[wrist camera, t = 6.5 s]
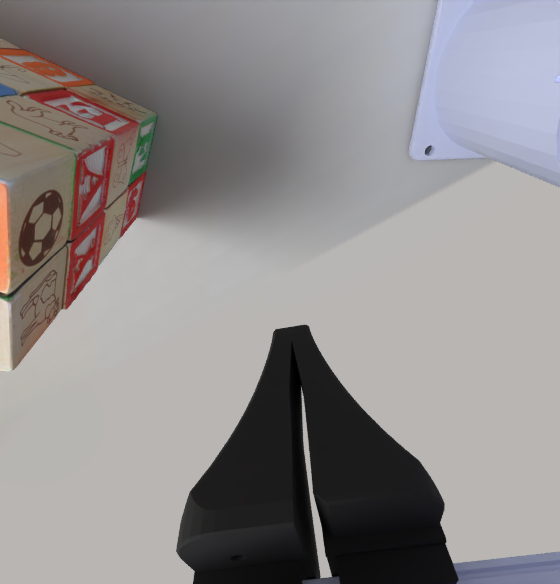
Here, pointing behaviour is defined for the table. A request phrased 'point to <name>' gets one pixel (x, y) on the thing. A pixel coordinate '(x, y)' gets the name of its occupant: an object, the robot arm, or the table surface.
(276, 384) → the robot arm
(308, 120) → the table surface
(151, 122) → the stack of blocks
